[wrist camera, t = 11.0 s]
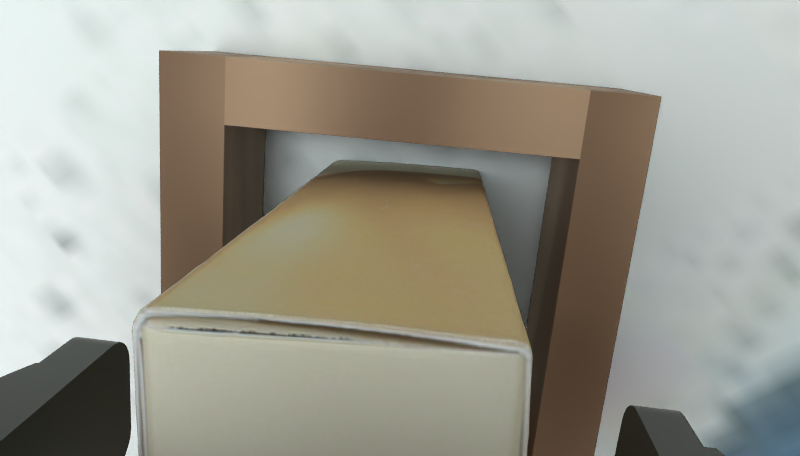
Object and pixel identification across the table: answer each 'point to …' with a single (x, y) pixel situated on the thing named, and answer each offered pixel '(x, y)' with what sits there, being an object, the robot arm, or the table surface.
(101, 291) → the table surface
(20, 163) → the table surface
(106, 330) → the table surface
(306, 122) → the walnut socket
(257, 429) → the skincare box
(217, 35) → the table surface
